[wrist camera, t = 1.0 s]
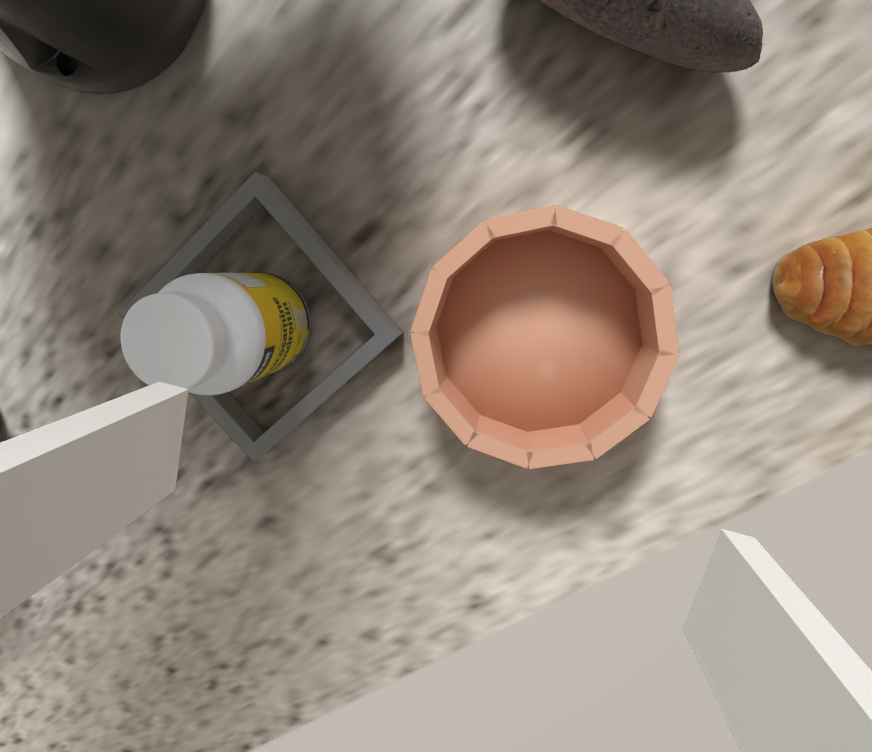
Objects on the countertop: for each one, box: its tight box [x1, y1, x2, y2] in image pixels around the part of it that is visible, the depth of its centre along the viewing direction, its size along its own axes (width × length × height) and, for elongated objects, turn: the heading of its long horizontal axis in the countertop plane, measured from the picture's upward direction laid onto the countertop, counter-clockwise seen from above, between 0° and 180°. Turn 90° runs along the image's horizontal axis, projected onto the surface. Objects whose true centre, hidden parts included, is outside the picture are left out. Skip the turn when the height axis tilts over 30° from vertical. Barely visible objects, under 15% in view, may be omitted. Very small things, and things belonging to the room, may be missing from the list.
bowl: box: [410, 205, 679, 469], centre depth 34 cm, size 14×14×5 cm
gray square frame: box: [119, 172, 403, 463], centre depth 37 cm, size 13×13×2 cm
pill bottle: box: [120, 273, 311, 395], centre depth 32 cm, size 6×6×12 cm
